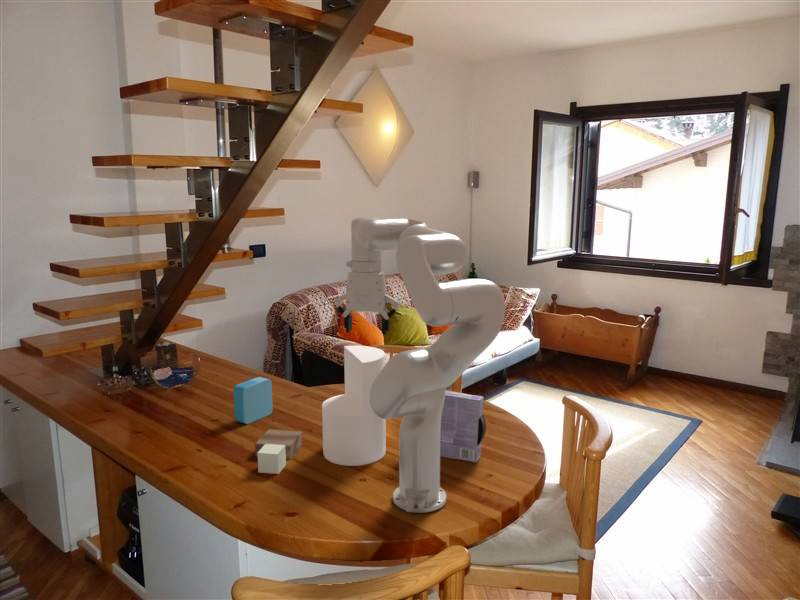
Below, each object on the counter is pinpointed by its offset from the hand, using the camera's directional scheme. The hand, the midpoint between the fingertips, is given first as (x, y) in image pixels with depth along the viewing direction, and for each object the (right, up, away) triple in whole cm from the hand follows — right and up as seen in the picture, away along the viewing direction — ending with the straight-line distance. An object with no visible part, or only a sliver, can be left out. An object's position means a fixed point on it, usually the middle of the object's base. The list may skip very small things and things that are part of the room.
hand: (366, 332), depth 156 cm
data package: (-38, -29, +36) cm, 60 cm away
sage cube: (-25, -36, +2) cm, 44 cm away
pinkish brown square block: (-25, -34, +13) cm, 44 cm away
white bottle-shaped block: (-4, -34, +12) cm, 36 cm away
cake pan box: (+22, -34, +10) cm, 42 cm away
